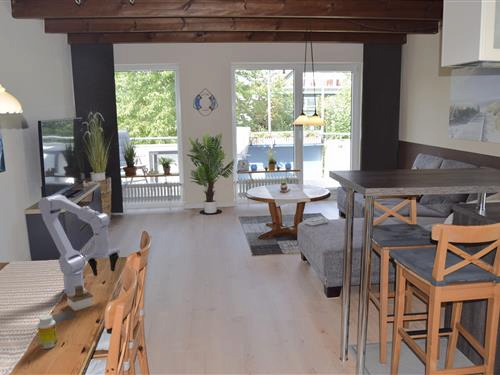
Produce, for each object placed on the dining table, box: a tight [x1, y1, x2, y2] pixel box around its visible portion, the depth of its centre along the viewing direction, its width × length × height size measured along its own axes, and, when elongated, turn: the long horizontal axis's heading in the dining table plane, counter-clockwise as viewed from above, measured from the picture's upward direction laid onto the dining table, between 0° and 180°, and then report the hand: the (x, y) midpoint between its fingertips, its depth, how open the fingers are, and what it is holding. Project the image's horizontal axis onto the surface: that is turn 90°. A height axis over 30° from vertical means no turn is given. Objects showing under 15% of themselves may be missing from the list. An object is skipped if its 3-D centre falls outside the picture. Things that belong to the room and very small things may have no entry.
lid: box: [66, 285, 94, 302], centre depth 185 cm, size 8×8×4 cm
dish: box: [66, 296, 94, 312], centre depth 186 cm, size 8×8×4 cm
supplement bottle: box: [37, 314, 58, 349], centre depth 154 cm, size 6×6×10 cm
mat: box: [51, 310, 77, 324], centre depth 176 cm, size 8×8×1 cm
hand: (104, 273), depth 194 cm, fingers open, 7 cm apart
